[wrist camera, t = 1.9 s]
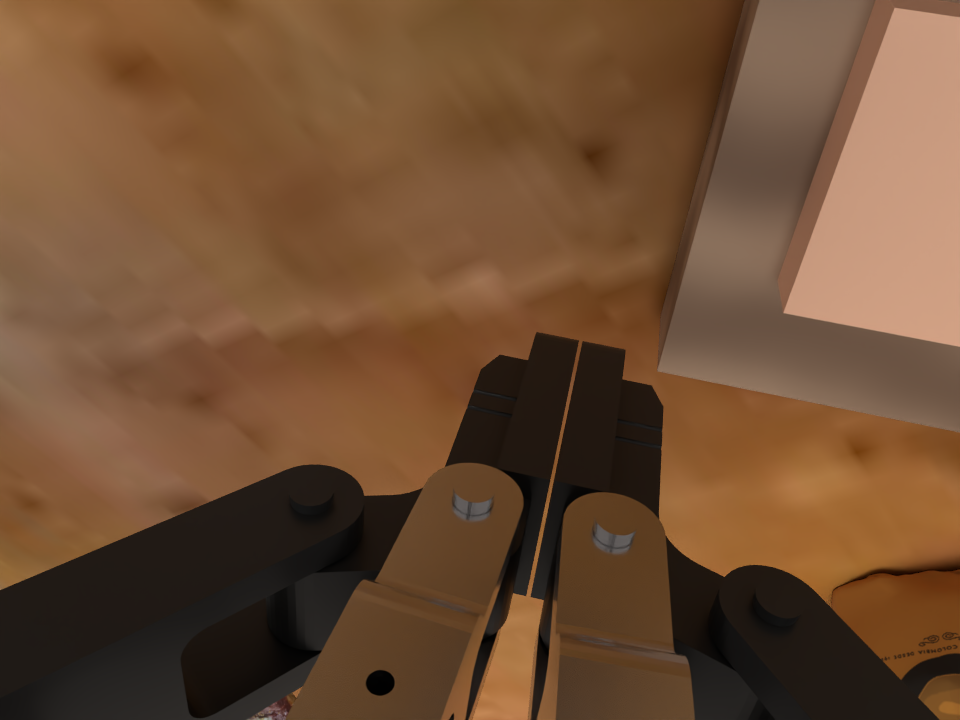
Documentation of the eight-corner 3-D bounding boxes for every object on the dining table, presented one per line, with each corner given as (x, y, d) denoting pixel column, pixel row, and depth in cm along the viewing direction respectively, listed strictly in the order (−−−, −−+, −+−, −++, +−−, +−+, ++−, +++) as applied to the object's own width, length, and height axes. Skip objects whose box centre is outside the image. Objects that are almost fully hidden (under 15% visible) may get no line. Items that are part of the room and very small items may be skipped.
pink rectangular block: (878, -9, 23) (894, 7, 21) (1112, 25, 22) (1150, 45, 20) (777, 279, 28) (783, 313, 26) (964, 315, 27) (984, 351, 25)
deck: (803, -221, 24) (821, -224, 20) (1260, -166, 22) (1357, -160, 19) (660, 316, 34) (657, 371, 31) (967, 376, 33) (998, 440, 29)
